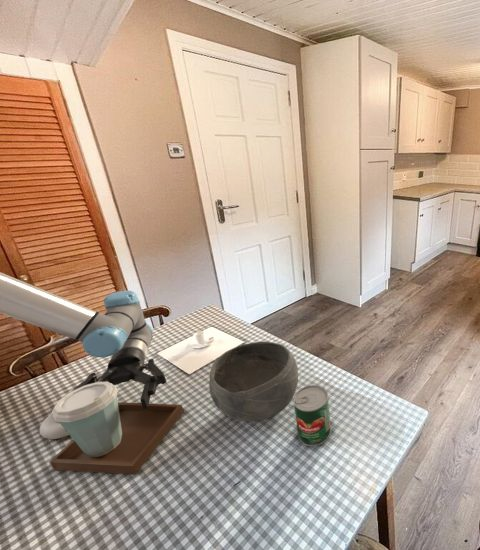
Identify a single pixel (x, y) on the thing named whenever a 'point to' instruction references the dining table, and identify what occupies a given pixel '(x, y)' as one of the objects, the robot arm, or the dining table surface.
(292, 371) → the bowl
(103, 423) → the disposable coffee cup
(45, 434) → the donut
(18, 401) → the dining table surface
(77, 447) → the tray
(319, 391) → the canned tomato
